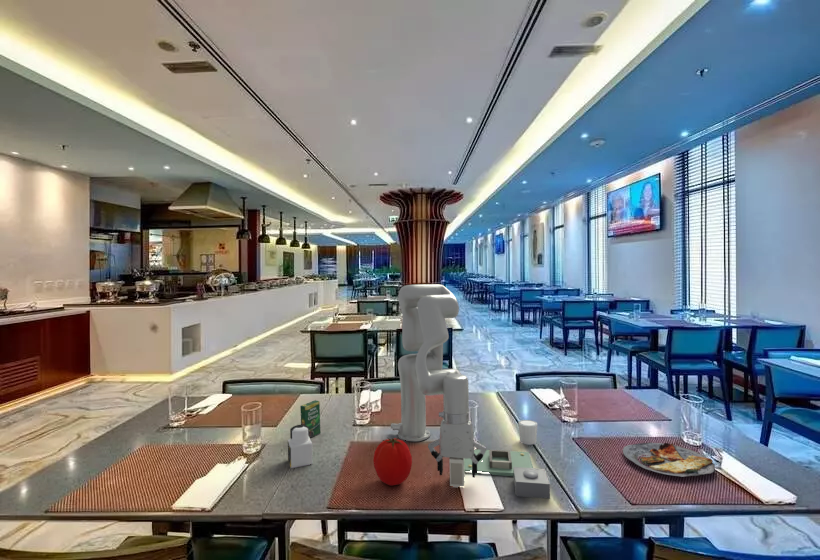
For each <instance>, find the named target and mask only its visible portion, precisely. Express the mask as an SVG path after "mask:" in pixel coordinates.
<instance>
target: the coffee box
mask: <svg viewBox="0 0 820 560" xmlns="http://www.w3.org/2000/svg"><path fill="white" fill-rule="evenodd" d="M320 402H321V401H320V400H316V399H315V400H313V401H310V402H308V403H305V404H302V405H300V407H299V408H300V425H307V426H308V427H309V438H310V437H311V438H313V437H315V435H316V436H318V435H320V434H321V412H320V410H321V409H320V408H321V406H320V405H321V404H320ZM317 434H318V435H317ZM311 438H310V439H311Z"/></svg>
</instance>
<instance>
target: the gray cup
mask: <svg viewBox="0 0 820 560" xmlns="http://www.w3.org/2000/svg"><path fill="white" fill-rule="evenodd" d="M517 422H518V431H519V432H518V433H519V441H520V443H522V444H523V445H527V446H529V445H530V446H533V445H536V444H537V436H538V435H537V433H538V422H537V421H535V420H530V419H522V420H519V421H517Z"/></svg>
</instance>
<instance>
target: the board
mask: <svg viewBox="0 0 820 560" xmlns="http://www.w3.org/2000/svg"><path fill="white" fill-rule="evenodd" d="M474 449H475V448H474ZM489 450H490V449H486V452H485V454H484V456H483V458H482V459H481V460H480V461H479V462H478V463H477V471H482V472H489V473H490V474H492V475H491V476H506V477H514V473H513V467H523V468H534V466H533V461H532V459H531V455H530V452H529V451H514V450H513V451H512V450H509V451H510V454H511V460H512V469H503V468H490V460H489ZM480 451H481V450H479V449H478V448H476V449H475V450H474V453H475V454H476V455H478V454H479V453H480ZM482 460H483V462H481V461H482ZM492 460H495V461H508V458H503V457H492ZM464 466H465V471H470V470H472V460H471V459H470V458H469V459H465V458H464Z"/></svg>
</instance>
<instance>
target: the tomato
mask: <svg viewBox="0 0 820 560" xmlns="http://www.w3.org/2000/svg"><path fill="white" fill-rule="evenodd" d="M373 453H374V454H373V458H372V459H373V460H372V461H373V466H374V470H375V472H376V476H378V479H379V480H380V481H381V482H382V483H383V484H386V485H388V486H396V485H398V486H399V485H401V484H403V482H405V481H406V480H407V479H408V477H409V476H410V473H411V471H412V466H413V457H412V454H411V450H410V448H409V446H408V444H407V443H406V441H405V440H402V439H400V438H399V437H397V438H395V437H394V438H390V437H387V439H383V440H382V441H381V442H380V443H379V444H378V445H377V447H376V449H375V451H374V452H373Z"/></svg>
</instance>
